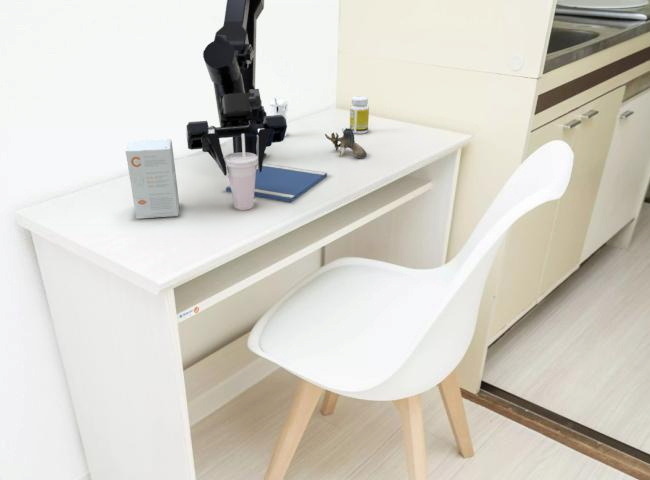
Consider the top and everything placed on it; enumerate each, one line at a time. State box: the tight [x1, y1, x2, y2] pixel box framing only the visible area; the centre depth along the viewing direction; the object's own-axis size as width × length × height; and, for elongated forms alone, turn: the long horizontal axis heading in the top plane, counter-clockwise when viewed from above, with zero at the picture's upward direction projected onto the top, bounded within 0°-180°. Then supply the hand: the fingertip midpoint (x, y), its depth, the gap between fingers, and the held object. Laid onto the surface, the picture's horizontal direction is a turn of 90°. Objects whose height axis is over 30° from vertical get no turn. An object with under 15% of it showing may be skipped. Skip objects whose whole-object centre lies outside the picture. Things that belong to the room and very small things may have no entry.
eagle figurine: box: [324, 127, 368, 160], centre depth 151 cm, size 8×7×9 cm
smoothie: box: [224, 133, 258, 211], centre depth 123 cm, size 6×6×14 cm
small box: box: [125, 138, 180, 220], centre depth 121 cm, size 8×6×13 cm
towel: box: [225, 163, 328, 204], centre depth 136 cm, size 15×17×1 cm
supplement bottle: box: [349, 95, 370, 135], centre depth 166 cm, size 5×5×8 cm
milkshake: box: [269, 97, 289, 138], centre depth 164 cm, size 4×5×10 cm
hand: (243, 173), depth 121 cm, fingers closed on smoothie, 6 cm apart
